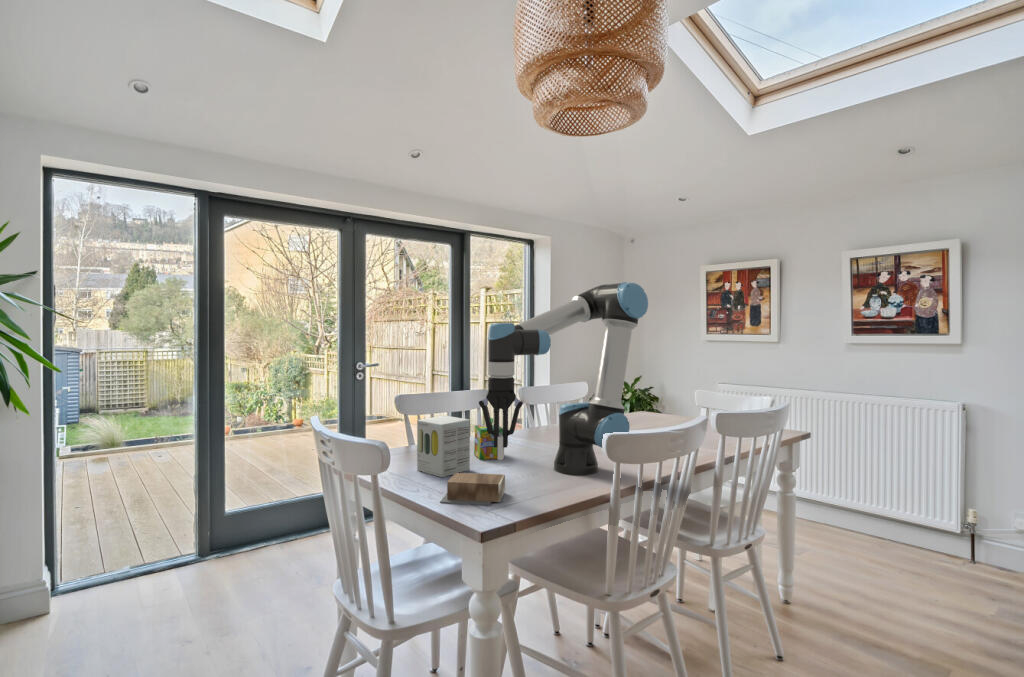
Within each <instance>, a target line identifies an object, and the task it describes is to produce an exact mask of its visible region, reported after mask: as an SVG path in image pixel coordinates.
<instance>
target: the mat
mask: <svg viewBox="0 0 1024 677" xmlns="http://www.w3.org/2000/svg"><path fill="white" fill-rule="evenodd" d="M440 502H441V503H440ZM439 503H440V504H450V503H452V504H451V505H456V504H457V505H472V506H491V503H492V502H487V501H466V500H447V493H446V494H445V495H444V496H443V497H442V499H441V500H440V501H439Z"/></svg>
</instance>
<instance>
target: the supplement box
mask: <svg viewBox="0 0 1024 677" xmlns="http://www.w3.org/2000/svg"><path fill="white" fill-rule="evenodd" d="M416 434H417V435H416V436H417V438H416V439H417V440H416V443H417V445H416V448H417V449H416V450H417V452H416V453H417V454H416V456H417V458H416V470H417V471H418V472H421V471H422V473H426V474H429V475H432V474H433V476H437V477H441V478H443V477H447V476H448V477H449V476H453V475H454V474H455V473H459V472H460V473H464V472H467V471H470V468H471V466H470V465H471V463H470V461H471V456H470V455H471V454H470V452H471V451H470V450H471V447H470V446H471V420H470V419H468V418H461V417H455V416H451V415H450V416H449V415H439V416H434V417H433V416H432V417H428V418H422V419H417V420H416Z"/></svg>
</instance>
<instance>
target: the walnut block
mask: <svg viewBox="0 0 1024 677" xmlns="http://www.w3.org/2000/svg"><path fill="white" fill-rule="evenodd" d="M446 486H447V489H446V490H447V491H446V494H447V500H466V501H487V502H491V503H501V500H502V498H503V496H504V494H505V493H506V474H502V473H501V474H500V473H499V474H498V473H474V472H460V473H455V474H452V475H451V477H450V478H449V479H448V480H447V483H446Z"/></svg>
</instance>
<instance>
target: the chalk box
mask: <svg viewBox="0 0 1024 677" xmlns="http://www.w3.org/2000/svg"><path fill="white" fill-rule="evenodd" d="M490 419H491V423H492V427H493V430H494V417H493V418H492V417H491V416H490ZM499 432H500V433H499V435H503V426H500V425H499ZM473 447H474V449H473V451H474V452H473V454H474V456H475V457H476V458H477V459H478V460H480V461H482V460H483V461H486V460H498V447H494V436H493V435H492V434H488V432H487V427H486V424H480V425H479V424H475V425H474V446H473Z"/></svg>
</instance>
